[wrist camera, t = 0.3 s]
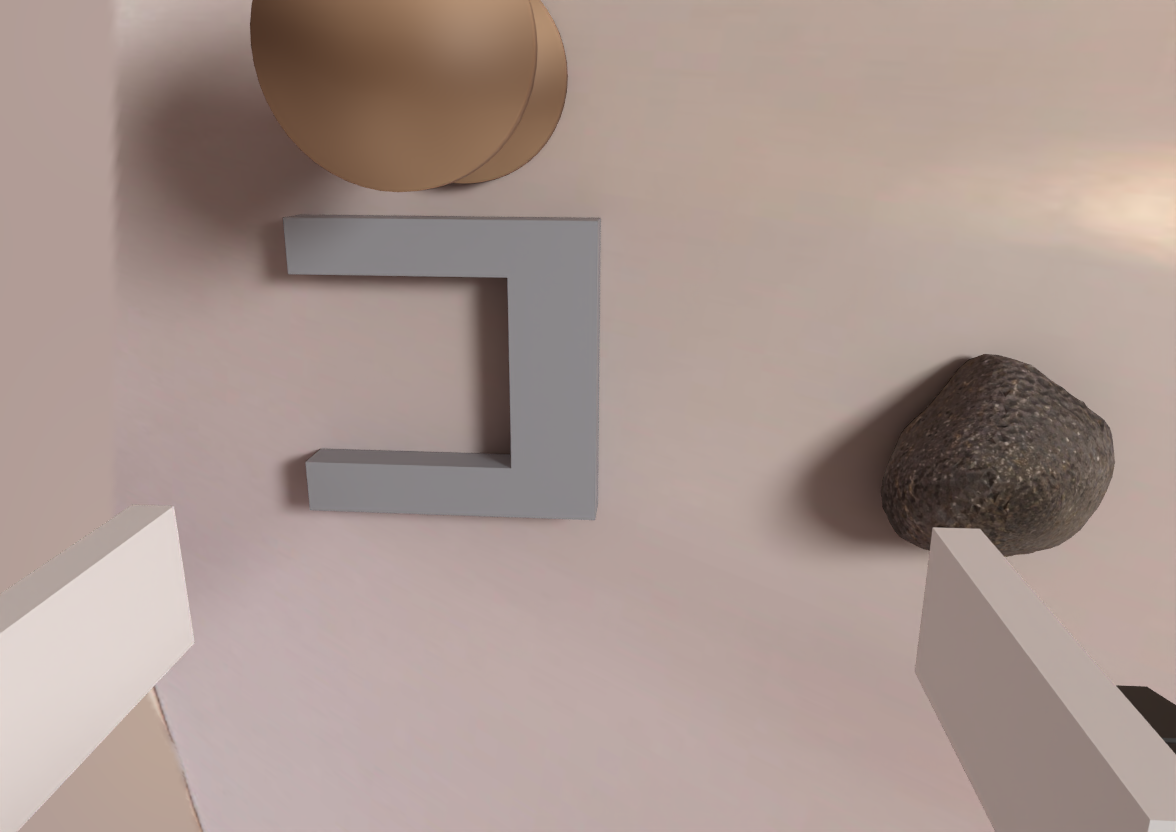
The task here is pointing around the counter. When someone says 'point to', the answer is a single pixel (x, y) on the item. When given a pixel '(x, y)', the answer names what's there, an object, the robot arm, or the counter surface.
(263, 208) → the counter surface
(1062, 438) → the stone
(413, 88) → the bobbin
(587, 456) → the notch board
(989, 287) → the counter surface
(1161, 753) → the robot arm
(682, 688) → the counter surface
